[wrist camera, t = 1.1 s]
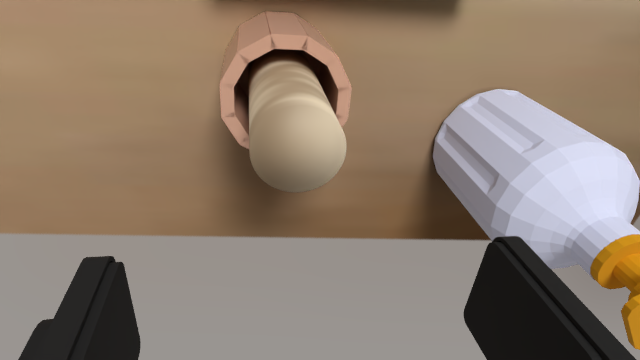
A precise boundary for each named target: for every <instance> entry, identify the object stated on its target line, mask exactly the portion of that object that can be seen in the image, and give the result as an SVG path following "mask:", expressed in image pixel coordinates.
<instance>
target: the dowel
mask: <svg viewBox="0 0 640 360" xmlns="http://www.w3.org/2000/svg"><path fill="white" fill-rule="evenodd" d="M248 76H249V152H250V159H251V163H252V166H253V168H254V170H255V172H256V173H257V175H258V176H259V177H260V178H261V179H262V180H263V181H264V182H265V183H267V184H268V185H270V186H272V187H273V188H276V189H278V190H282V191H286V192H305V191H310V190H313V189H316V188H318V187H320V186H322V185H324V184H325V183H327V182H328V181H330V180H331V179H332V178H333V177H334V176H335V175H336V173H337V172H338V171H339V169H340V168H341V166H342V164H343V162H344V159H345V155H346V138H345V134H344V132H343V130H342V127H341V125H340V123H339V121H338V119H337V117H336V115H335V113H334V111H333V109H332V107H331V105H330V103H329V101H328V99H327V97H326V95H325V93H324V91H323V89H322V87H321V85H320V83H319V81H318V79H317V77H316V75H315V73H314V71H313V69H312V67H311V65H310V63H309V61H308V59H307V57H306V55H305V53H304V51H303V50H290V49H273V50H271V51H269V52H267V53H265V54H263V55H262V56H260V57H258V58H256V59H254V60H252V61H250V62H249V67H248Z"/></svg>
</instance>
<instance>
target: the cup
mask: <svg viewBox="0 0 640 360" xmlns="http://www.w3.org/2000/svg"><path fill="white" fill-rule="evenodd" d="M273 49H290V50H303V51H304V53H305V55H306V57H307V59H308V61H309V63H310V65H311V67H312V69H313V71H314V73H315V75H316V77H317V79H318V81H319V83H320V85H321V87H322V89H323V91H324V93H325V95H326V97H327V99H328V101H329V103H330V105H331V107H332V109H333V111H334V113H335V115H336V117H337V119H338V121H339V123H340V125H341V127H343V125H344V124H345V123H346V121H347V120H348V114H349V106H350V98H351V90H352V86H351V84H350V82H349V80H348V77H347V75H346V73H345V71H344V68H343V66H342V64H341V62H340V59H339V57H338V56H337V54H336V53H335V52H334V50H333V49H332V48H331V46H330V45H329V44H328V42H327V41H326V40H325V38H324V37H323V36H322V34H321V33H320V32H319V31H318V29H317V28H315V27H314V26H312V25H311V24H309V23H308V22H307V21H305V20H304V19H302V18H301V17H299V16H298V15H297V14H295V13H289V12H273V11H264V12H262V13H260V14H259V15H257V16H255V17H253V18H251V19H250V20H248V21H246V22H244V23H242V24H240V26H239V27H238V29H237V30H236V32H235V34H234V36H233V38H232V40H231V41H230V43H229V45H228V47H227V49H226V51H225V57H224V62H223V68H222V73H221V79H220V102H221V117H222V119H223V121H224V122H225V124H226V125H227V127H228V128H229V130H230V131H231V133H232V134H233V136H234V137H235V139H236V140H237V142H238V143H239V144H240V145H241V146H243V147H245V148H247V149H249V76H248V67H249V62H250V61H252V60H254V59H256V58H258V57H260V56H262V55H263V54H265V53H267V52H269V51H271V50H273Z"/></svg>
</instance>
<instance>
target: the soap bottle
mask: <svg viewBox="0 0 640 360" xmlns="http://www.w3.org/2000/svg"><path fill="white" fill-rule="evenodd" d="M433 160H434V163H435V167H436V171H437V173H438V174H439V176H440V177H441V178H442V179H443V181H444V182H445V183H446V184H447V186H448V187H449V188H450V189H451V191H452V192H453V193H454V194H455V196H456V197H457V198H458V199H459V200H460V202H461V203H462V204H463V205H464V207H465V208H466V209H467V210H468V212H469V213H470V214H471V215H472V217H473V218H474V219H475V220H476V222H477V223H478V224H479V225H480V227H481V228H482V229H483V230H484V232H485V233H486V234H487V235H488V237H489V238H490V239H491V240H492V241H493V239H495V238H496V237H504V236H518V237H520V238H521V239H523V240H524V241H525V243H526V244H527V245H528V246H529V247H530V248H531V249H532V250H533V251H534V252H535V253H536V254H537V255H538V256H539V257H540V258H541V259H542V260H543V262H544V263H545V264H546V265H547V266H548V267H549V268H550V269H555V268H564V267H570V266H573V265H577V264H579V265H580V266H581V267H582V268H583V269H584V270H585V271H586V272H587V273H588V274H589V275H590V276H591V277H592V278H593V279H594V280H596V281H597V282H598V283H599V284H600V285H601V286H602V287H605V288H608V289H616V288H622V287H625V286H626V287H627V288H628V289H629V290H630V291H631V293H630V295H629V299H628V302H627V303H626V304H625V305H624V307H623V308H622V310H621V313H622V317H623V321H624V325H625V329H626V332H627V336H628V340H629V342H630V343H631V345H632V346H633V347H634V348H635V349H639V350H640V231H639V230H637V229H636V228H635V227H634V226H632V225H631V224H630V223H631V221H632V218H633V216H634V214H635V212H636V208H637V203H638V198H639V186H640V181H639V178H638V176H637V174H636V172H635V170H634V168H633V166H632V164H631V163H630V161H629V160H628V158H627V157H626V155H625V154H624V153H623V152H621V151H620V150H618V149H616V148H615V147H613V146H611V145H610V144H608V143H606V142H605V141H603V140H601V139H599V138H598V137H596V136H594V135H592V134H591V133H589V132H587V131H585V130H584V129H582V128H580V127H579V126H577V125H575V124H573V123H572V122H570V121H568V120H566V119H565V118H563V117H561V116H559V115H558V114H556V113H554V112H552V111H551V110H549V109H547V108H546V107H544V106H542V105H540V104H539V103H537V102H535V101H533V100H532V99H530V98H528V97H526V96H525V95H523V94H521V93H519V92H518V91H513V90H503V89H495V90H491V91H487V92H483V93H479V94H476V95H474V96H473V97H471V98H470V99H468V100H466V101H465V102H463V103H461V104H460V105H458V106H457V107H456V108H455V109H454V110H453V112H452V113H451V114H450V115H449V116H448V117H447V118H446V119H445V120H444V122H443V124H442V126H441V128H440V130H439V132H438V134H437V136H436V138H435V144H434V151H433Z"/></svg>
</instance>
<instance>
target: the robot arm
mask: <svg viewBox="0 0 640 360" xmlns="http://www.w3.org/2000/svg"><path fill="white" fill-rule="evenodd" d="M464 319H465V323H466V325H467V326H468V328H469V330H470V331H471V333H472V335H473V337H474V338H475V340H476V342H477V343H478V345H479V347H480V349H481V350H482V352H483V354H484V355H485V357H486V359H487V360H636V359H635V358H634V357H633V356H632V355H631V354H630V353H629V352H628V351H627V349H626V348H625V347H624V346H623V345H622V344H621V343H620V342H619V341H618V340H617V339H616V338H615V337H614V336H613V335H612V334H611V332H609V330H608V329H607V328H606V327H605V326H604V325H603V324H602V323H601V322H600V321H599V320H598V319H597V318H596V317H595V316H594V314H593V313H592V312H591V311H590V310H588V308H587V307H586V306H585V305H584V304H583V303H582V302H581V301H580V300H579V299H578V298H577V297H576V295H575V294H574V293H573V292H572V291H571V290H570V289H569V288H568V287H567V286H566V285H565V284H564V283H563V282H562V281H561V280H560V278H559V277H558V276H557V275H556V274H555V273H554V272H553V271H552V270H551V269H550V268H549V267H548V266H547V265H546V264H545V263H544V262H543V260H542V259H541V258H540V257H539V256H538V255H537V254H536V253H535V252H534V251H533V250H532V249H531V248H530V247H529V246H528V245H527V244H526V243H525V241H524V240H523V239H521V238H520V237H518V236H504V237H496V238H495V239H493V241H492V243H489V245H488V246H487V249H486V251H485V254H484V257H483V260H482V263H481V265H480V268H479V271H478V274H477V276H476V279H475V282H474V284H473V287H472V290H471V293H470V296H469V298H468V301H467V304H466V306H465V309H464ZM139 353H140V336H139V332H138V327H137V323H136V318H135V313H134V309H133V304H132V300H131V295H130V291H129V287H128V282H127V278H126V273H125V268H124V264H123V263H122V262H115V259H114V257H112V256H105V257H86V258H84V259H83V260H82V262H81V264H80V266H79V268H78V270H77V272H76V274H75V276H74V278H73V280H72V282H71V284H70V286H69V288H68V290H67V292H66V294H65V296H64V298H63V301H62V302H61V305H60V307H59V309H58V311H57V313H56V315H55V317H54V319H49V320H48V319H47V320H43V321H41V322H40V323H39V324H38V325H37V327H36V328H35V329H34V331H33V333H32V335H31V337H30V339H29V341H28V342H27V344H26V346H25V348H24V350H23V352H22V354H21V356H20V358H19V359H18V360H138V357H139Z"/></svg>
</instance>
